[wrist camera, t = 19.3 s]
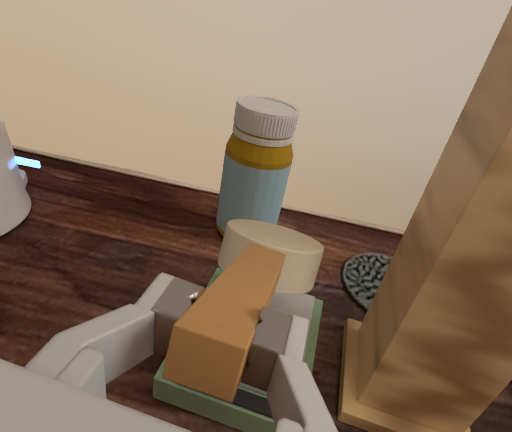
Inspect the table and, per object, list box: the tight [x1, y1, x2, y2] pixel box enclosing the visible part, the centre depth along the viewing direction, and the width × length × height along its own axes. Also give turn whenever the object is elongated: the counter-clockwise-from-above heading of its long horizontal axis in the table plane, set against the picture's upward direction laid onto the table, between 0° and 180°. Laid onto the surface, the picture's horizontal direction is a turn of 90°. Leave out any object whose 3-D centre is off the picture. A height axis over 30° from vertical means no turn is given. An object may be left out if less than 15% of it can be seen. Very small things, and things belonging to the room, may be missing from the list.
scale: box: [153, 268, 323, 432], centre depth 28 cm, size 10×12×3 cm
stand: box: [337, 7, 512, 432], centre depth 21 cm, size 9×9×30 cm
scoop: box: [162, 219, 324, 403], centre depth 17 cm, size 6×16×2 cm, turn 165°
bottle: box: [216, 96, 299, 237], centre depth 39 cm, size 7×7×15 cm
